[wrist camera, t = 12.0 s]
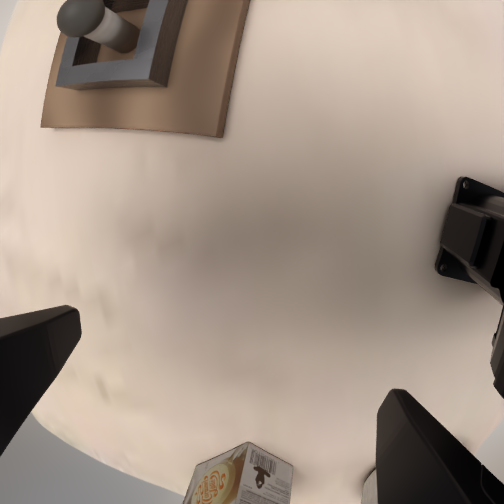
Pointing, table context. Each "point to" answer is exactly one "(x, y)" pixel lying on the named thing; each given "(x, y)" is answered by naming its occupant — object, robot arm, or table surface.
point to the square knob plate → (151, 98)
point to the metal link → (145, 58)
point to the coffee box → (241, 479)
